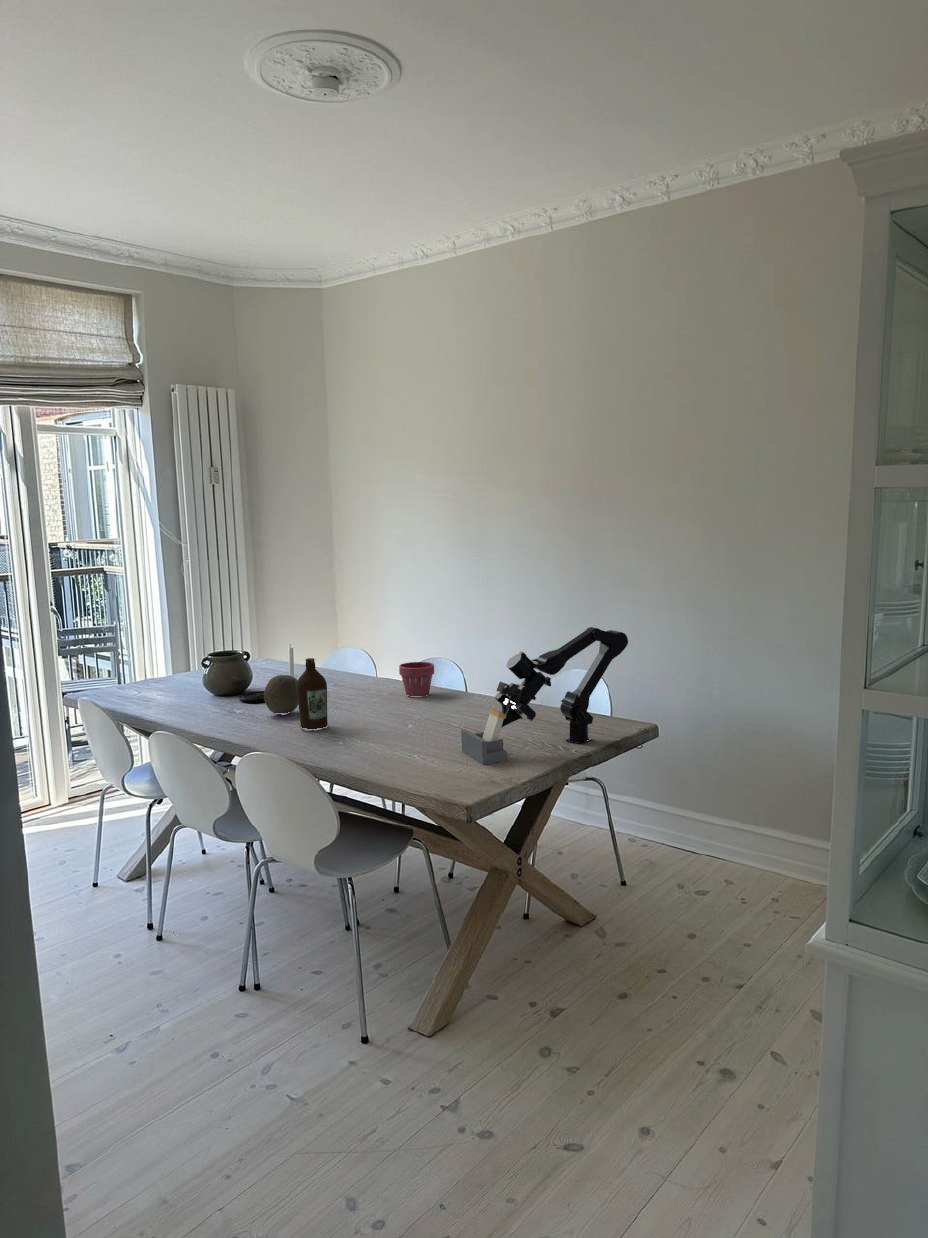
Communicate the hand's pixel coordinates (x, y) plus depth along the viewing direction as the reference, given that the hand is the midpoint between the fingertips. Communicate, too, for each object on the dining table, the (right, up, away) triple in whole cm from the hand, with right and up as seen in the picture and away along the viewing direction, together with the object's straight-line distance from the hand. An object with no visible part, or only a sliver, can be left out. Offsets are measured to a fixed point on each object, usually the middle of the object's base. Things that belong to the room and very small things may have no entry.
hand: (497, 727), depth 267 cm
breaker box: (-4, -9, -1) cm, 10 cm away
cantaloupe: (-79, -3, +63) cm, 101 cm away
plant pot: (-29, +2, +87) cm, 92 cm away
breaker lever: (-3, -5, -1) cm, 6 cm away
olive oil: (-63, -6, +41) cm, 76 cm away
